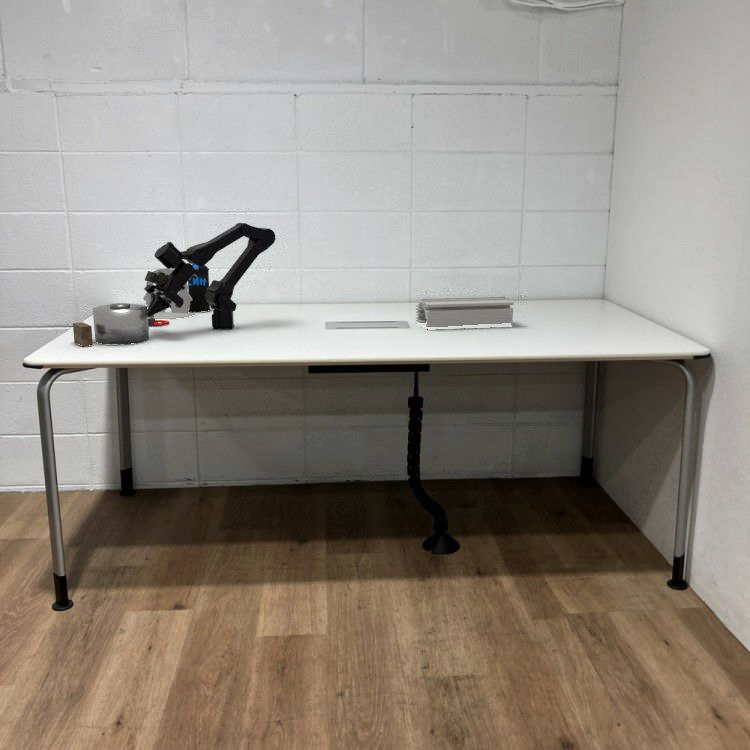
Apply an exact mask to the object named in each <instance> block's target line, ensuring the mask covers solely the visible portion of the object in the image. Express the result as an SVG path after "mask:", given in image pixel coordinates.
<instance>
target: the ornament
mask: <svg viewBox="0 0 750 750" xmlns="http://www.w3.org/2000/svg"><path fill="white" fill-rule="evenodd" d="M174 269H175V268H174ZM174 269H172V268H170V269H167V268H159V269H155V270H153V271H152V272H154V273H156V274H157V273H158V272H159V271H160V272H163V273H165V275H170V273H171V272H172V271H173V270H174ZM148 284H152V285H154V283H152V282H149V281H146V286H147V285H148ZM146 286H145V287H146ZM184 287H185V289H184V290H180V291H179V293H178V295H179V296H180V297H181V298H182V299H183V300H184V304H183V305H182V306H181V308H178V307H176V306H175V305H176V304H175V303H173V302H172V303H171V304H170V305H171V306H172V307H171V308H170V307H169V308H170V310H171V311H169V312H168V311H166V310H167V309H165V310H163V311H160V312H158V313H156V314H154V319H170V320H177V319H176V318H182V319H185V318H184V317H188V318H190V317H189V316H192V315H195V314H196V315H197V313H194V312H189V308H190V306H189V305H191V304H190V301H192V298H191V296H190V295H189V293H188V282H187V283H186V284H185V285H184ZM142 300H144V301H145V306H147V308H148V307H149V293H148V292H147V291H145V294H144V296H143V298H142ZM196 315H195V316H196ZM192 317H193V316H192ZM148 319H149V317H148Z"/></svg>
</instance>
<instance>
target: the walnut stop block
mask: <svg viewBox="0 0 750 750" xmlns="http://www.w3.org/2000/svg"><path fill="white" fill-rule="evenodd" d="M92 328H93V327H92V325H90V324H88V323H85V322H83V321H82V322H81V321H80V322H72V330H73V340H74V341H73V342H76V343H78V344H80V345H82V346H88V347H90V346H89V345H93V346H94V344H93V343H94V342H93V341H94V340H93V329H92ZM76 343H75V344H76ZM78 344H77V345H78ZM80 345H79V346H80ZM82 346H81V347H82Z"/></svg>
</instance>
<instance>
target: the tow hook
mask: <svg viewBox="0 0 750 750" xmlns="http://www.w3.org/2000/svg"><path fill="white" fill-rule="evenodd" d="M150 302H151V295H150V294H149V305H150ZM158 322H161V323H158ZM169 324H170V320H155V319H154V315H152V316H150V317H149V319H148V327H152V326H154V327H157V326H161V327H162V326H166V325H169Z"/></svg>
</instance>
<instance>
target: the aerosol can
mask: <svg viewBox="0 0 750 750" xmlns="http://www.w3.org/2000/svg"><path fill="white" fill-rule="evenodd" d="M191 265H192V266H193V267H194V268H195V269H196V268H197V269H200V271H199V272H200V277H195V276H192V277H191V278H190V279H189V281H188V282H187V285H188V290H187V291H188V293H189V295H190V296H191V298H192V301H190V304H191V305H189V306H190V308H189V309H188V312H189V311H192V312H191V313H194V312H201V311H208V310H210V309H211V306H210V304H209V303H208V302H207V301H206V297H205V294H206V292H207V290H206V288H208V287H209V286H210V279H209V278H210V276H209V275H210V274H209V273H210V272H209V270H210V268H208V266H207V264H205V265H203V266H199V265H194V264H191Z"/></svg>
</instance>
